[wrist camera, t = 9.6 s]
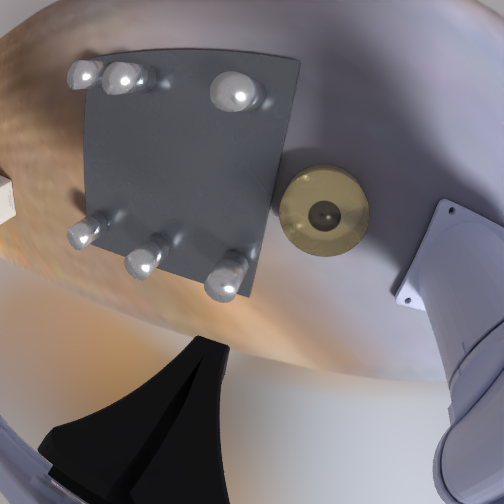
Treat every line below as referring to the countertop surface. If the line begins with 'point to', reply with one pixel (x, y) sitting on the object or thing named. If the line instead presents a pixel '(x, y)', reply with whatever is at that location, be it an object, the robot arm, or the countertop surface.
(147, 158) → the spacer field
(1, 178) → the ink box
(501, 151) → the countertop surface
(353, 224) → the brass nut
